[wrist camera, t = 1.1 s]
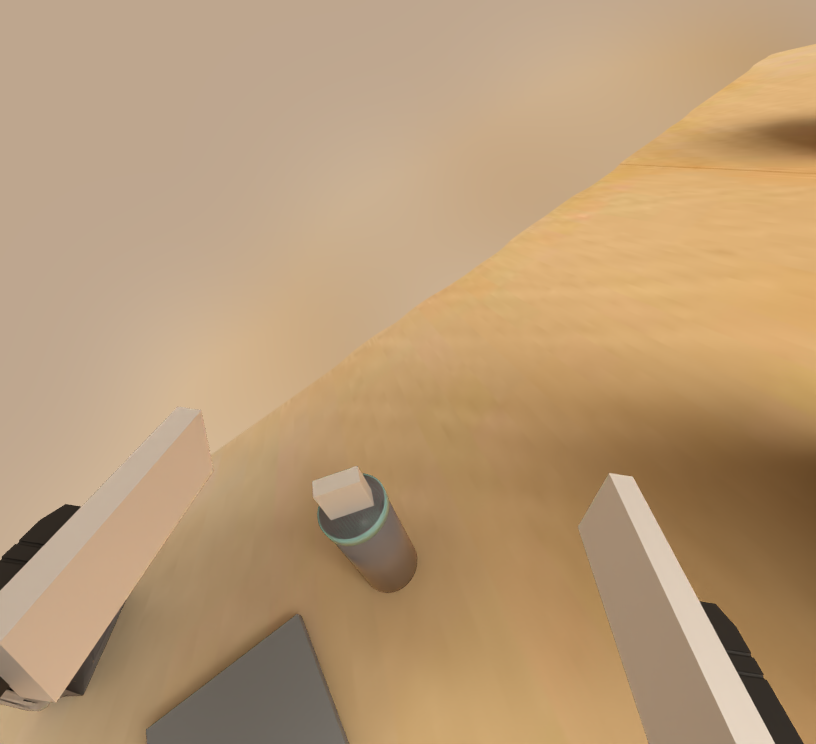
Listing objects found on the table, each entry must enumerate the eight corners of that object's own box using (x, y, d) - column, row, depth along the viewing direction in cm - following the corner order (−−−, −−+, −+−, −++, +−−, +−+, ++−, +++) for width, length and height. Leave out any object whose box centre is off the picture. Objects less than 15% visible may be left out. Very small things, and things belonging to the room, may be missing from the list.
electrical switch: (101, 585, 38) (23, 544, 31) (151, 581, 37) (83, 538, 31) (36, 713, 31) (-80, 694, 24) (97, 709, 30) (-4, 689, 24)
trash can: (410, 526, 34) (366, 439, 26) (424, 582, 31) (379, 502, 22) (359, 544, 34) (298, 462, 26) (367, 602, 31) (299, 530, 22)
